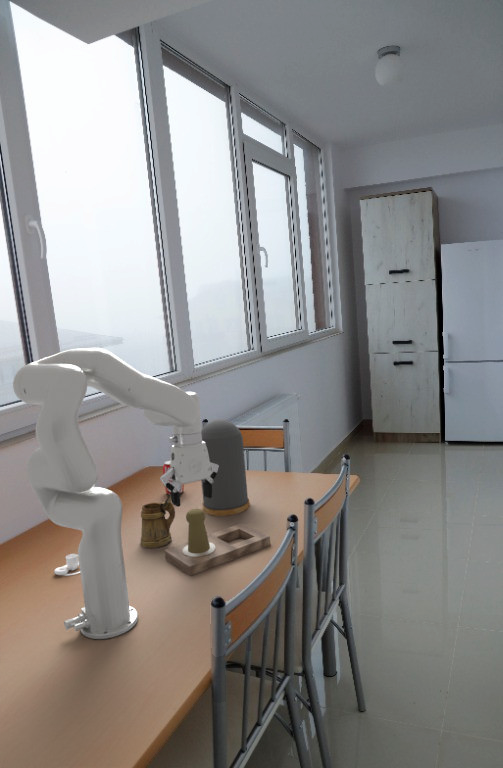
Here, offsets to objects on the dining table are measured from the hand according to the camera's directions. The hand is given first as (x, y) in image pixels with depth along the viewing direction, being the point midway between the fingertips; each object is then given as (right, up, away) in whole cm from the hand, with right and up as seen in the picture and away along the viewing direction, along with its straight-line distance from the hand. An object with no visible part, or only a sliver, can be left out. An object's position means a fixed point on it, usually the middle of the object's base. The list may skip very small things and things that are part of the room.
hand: (192, 501), depth 159 cm
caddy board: (+7, -15, +7) cm, 18 cm away
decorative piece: (+7, -10, +41) cm, 43 cm away
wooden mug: (-10, -16, +17) cm, 25 cm away
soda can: (-12, -9, +60) cm, 62 cm away
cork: (+1, -14, +3) cm, 14 cm away
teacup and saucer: (-36, -20, +4) cm, 41 cm away
